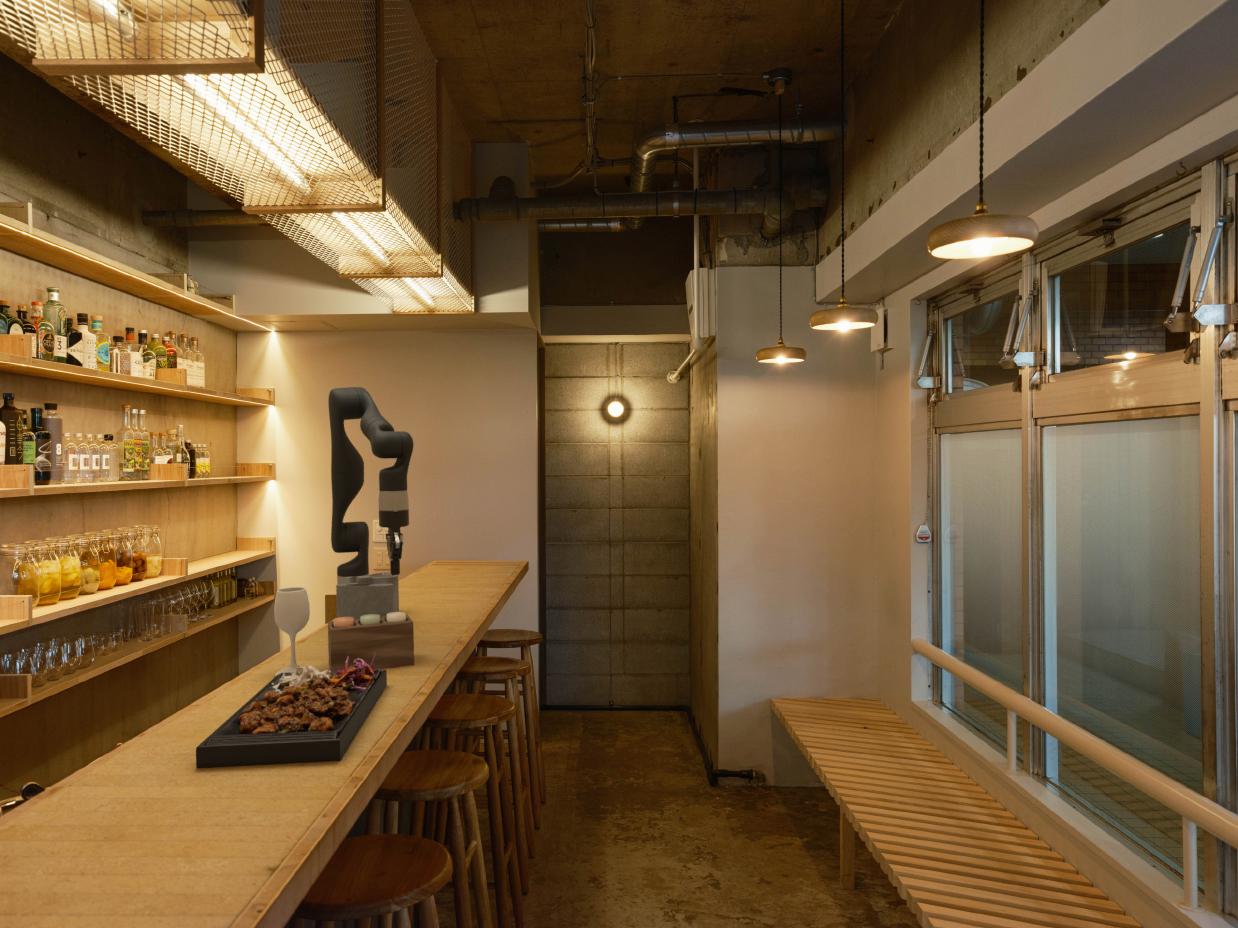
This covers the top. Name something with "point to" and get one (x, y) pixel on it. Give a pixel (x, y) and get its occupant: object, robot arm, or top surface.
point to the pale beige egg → (396, 617)
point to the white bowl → (291, 617)
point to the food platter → (297, 718)
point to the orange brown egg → (343, 622)
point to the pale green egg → (370, 619)
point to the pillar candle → (387, 579)
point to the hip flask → (364, 598)
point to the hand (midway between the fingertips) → (395, 574)
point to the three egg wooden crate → (372, 644)
